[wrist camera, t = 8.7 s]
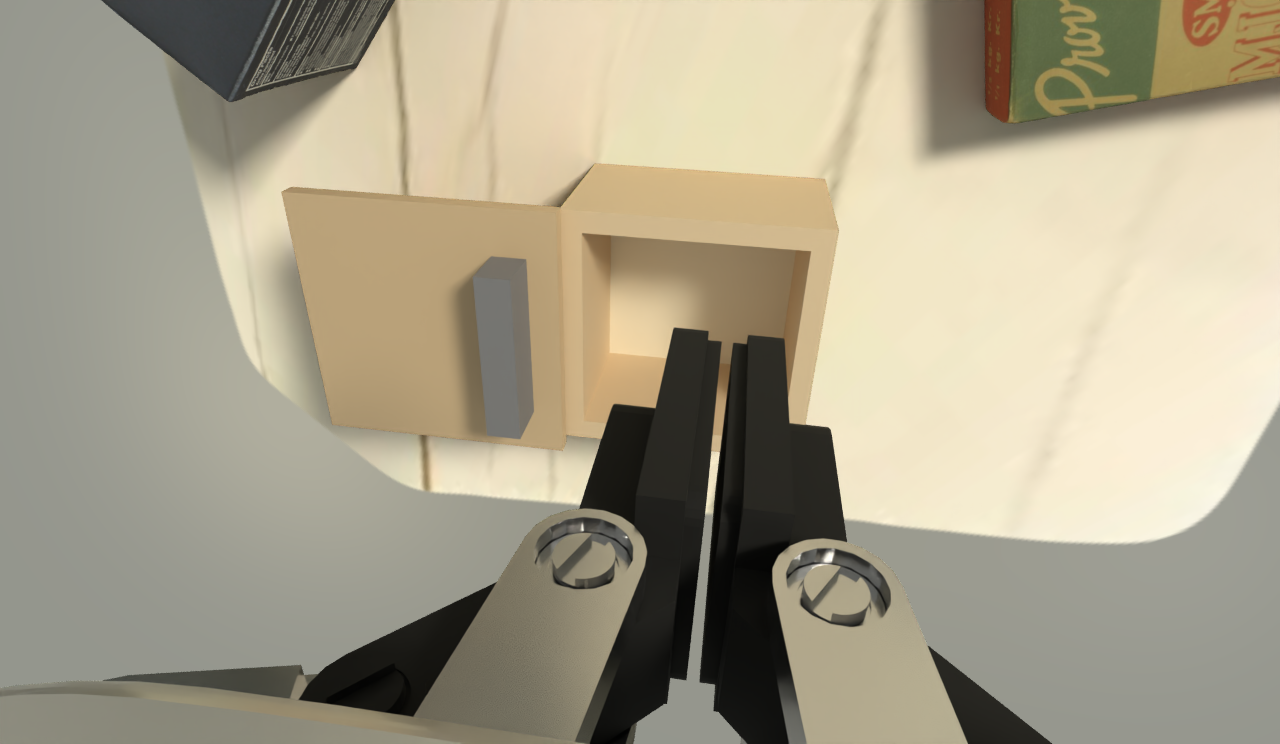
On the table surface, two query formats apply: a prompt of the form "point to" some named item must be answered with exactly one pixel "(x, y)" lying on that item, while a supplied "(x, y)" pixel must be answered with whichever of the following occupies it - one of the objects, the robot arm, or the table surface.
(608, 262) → the shipping box
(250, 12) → the small box
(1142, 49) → the carton
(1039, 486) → the table surface
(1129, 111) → the table surface
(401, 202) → the box lid
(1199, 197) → the table surface
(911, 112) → the table surface
